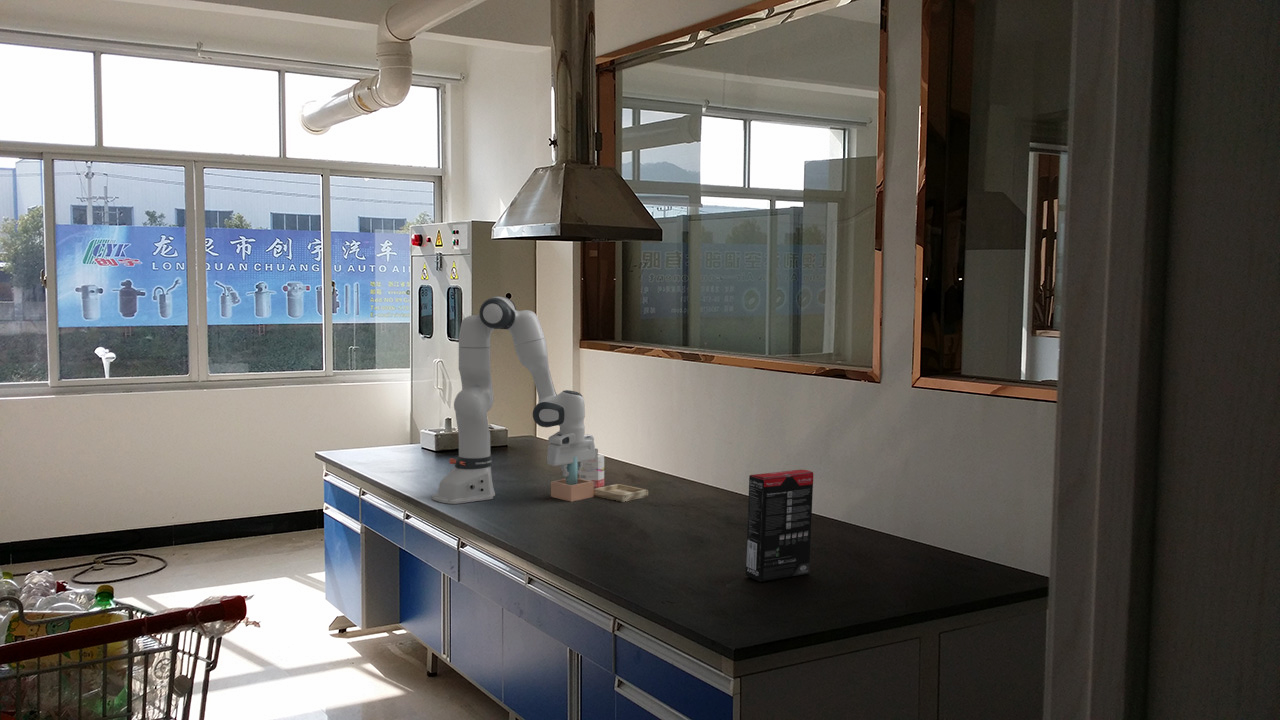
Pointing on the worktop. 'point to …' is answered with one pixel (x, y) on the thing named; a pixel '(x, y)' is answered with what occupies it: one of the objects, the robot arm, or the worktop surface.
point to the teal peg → (572, 472)
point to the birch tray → (620, 492)
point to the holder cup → (572, 490)
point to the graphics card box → (779, 524)
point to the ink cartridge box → (594, 470)
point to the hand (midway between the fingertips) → (571, 475)
